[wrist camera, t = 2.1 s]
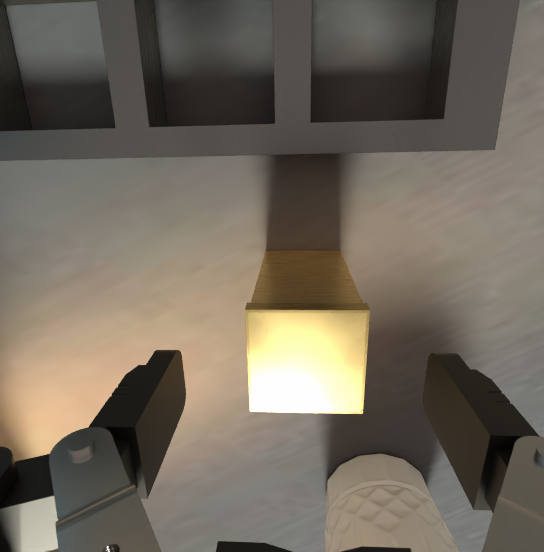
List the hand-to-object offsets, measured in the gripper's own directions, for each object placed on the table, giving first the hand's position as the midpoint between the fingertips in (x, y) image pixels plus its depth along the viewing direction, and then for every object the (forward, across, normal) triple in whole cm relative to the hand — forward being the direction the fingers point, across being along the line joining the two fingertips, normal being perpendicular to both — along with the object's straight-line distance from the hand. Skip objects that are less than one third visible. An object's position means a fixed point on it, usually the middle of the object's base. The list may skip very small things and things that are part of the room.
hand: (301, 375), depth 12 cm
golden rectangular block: (+9, 0, 0) cm, 9 cm away
